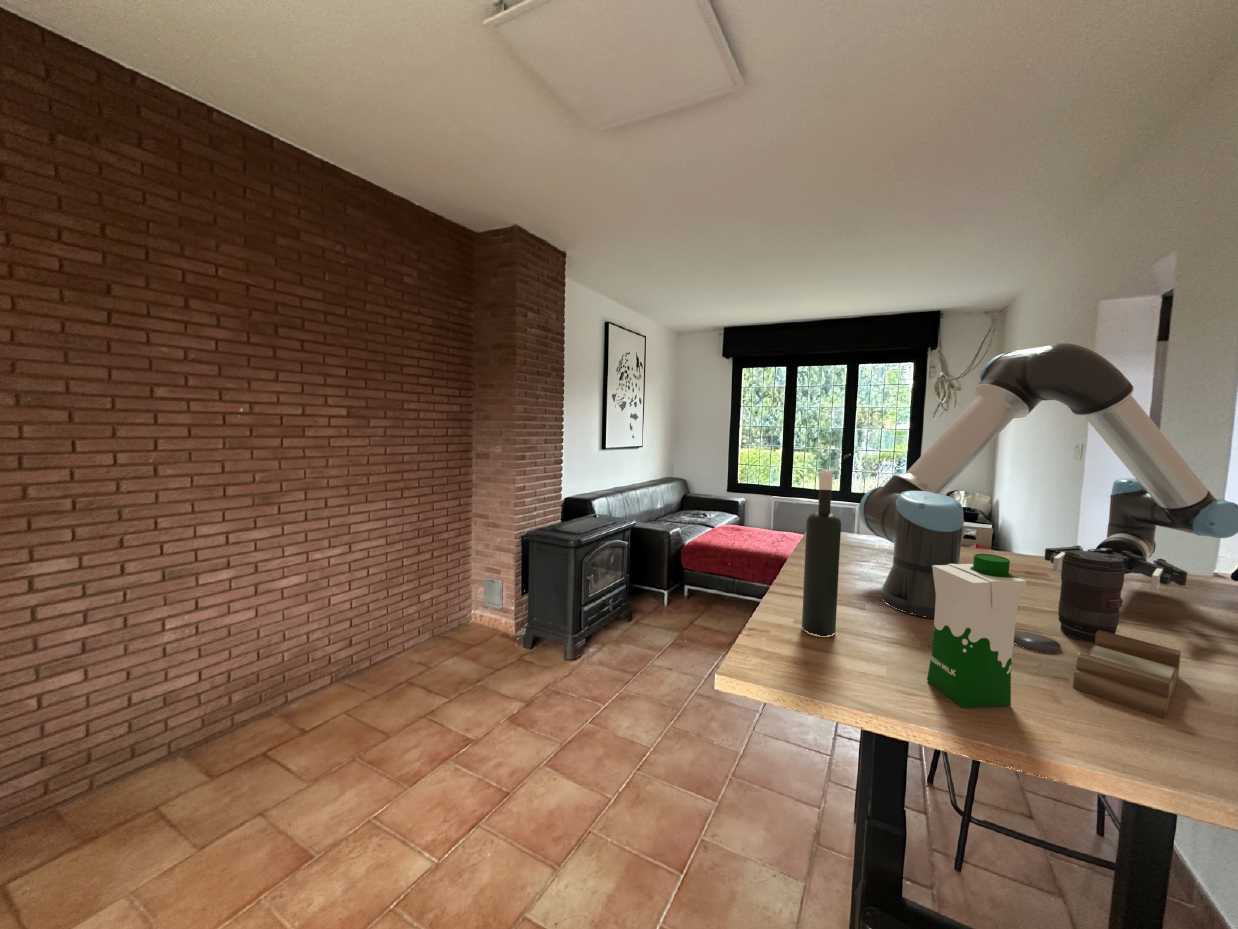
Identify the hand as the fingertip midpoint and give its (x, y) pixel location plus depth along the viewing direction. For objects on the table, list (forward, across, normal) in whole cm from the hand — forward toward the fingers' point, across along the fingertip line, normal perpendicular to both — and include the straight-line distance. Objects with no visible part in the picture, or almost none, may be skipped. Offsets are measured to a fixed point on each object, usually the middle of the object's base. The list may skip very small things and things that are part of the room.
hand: (1102, 573), depth 93 cm
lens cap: (+22, +5, -10) cm, 24 cm away
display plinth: (+26, -7, -10) cm, 29 cm away
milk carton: (+49, +6, -10) cm, 51 cm away
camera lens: (+10, 0, -10) cm, 14 cm away
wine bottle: (+48, +30, -9) cm, 57 cm away
